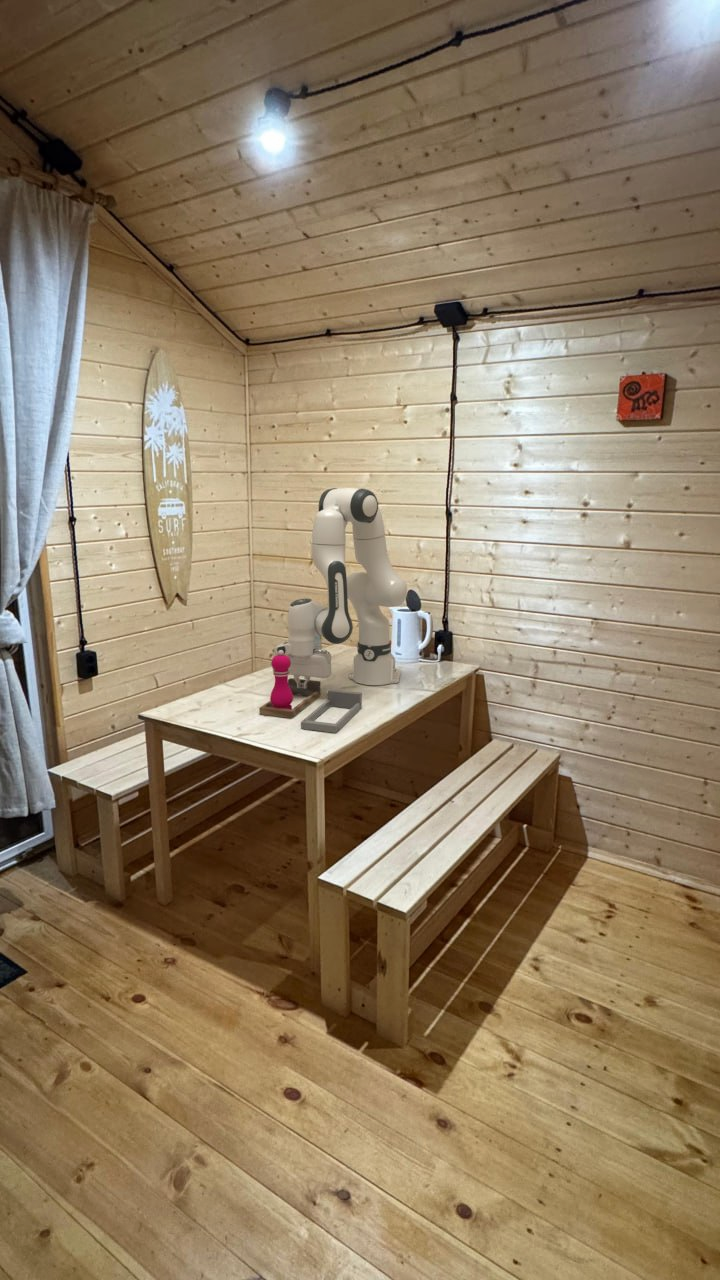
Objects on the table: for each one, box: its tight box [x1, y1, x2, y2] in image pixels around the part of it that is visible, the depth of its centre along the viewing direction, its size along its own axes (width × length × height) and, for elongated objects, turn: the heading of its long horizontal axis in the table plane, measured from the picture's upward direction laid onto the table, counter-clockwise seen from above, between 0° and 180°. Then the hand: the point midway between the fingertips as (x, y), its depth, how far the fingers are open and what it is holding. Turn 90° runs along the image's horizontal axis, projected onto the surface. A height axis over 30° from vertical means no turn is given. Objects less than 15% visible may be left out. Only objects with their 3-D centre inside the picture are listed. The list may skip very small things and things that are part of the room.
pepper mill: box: [269, 650, 294, 710], centre depth 216 cm, size 7×7×20 cm
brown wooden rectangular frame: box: [258, 677, 322, 719], centre depth 224 cm, size 24×11×5 cm, turn 162°
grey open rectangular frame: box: [300, 688, 363, 734], centre depth 212 cm, size 24×11×5 cm, turn 162°
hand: (302, 687), depth 232 cm, fingers closed, pressing on brown wooden rectangular frame
